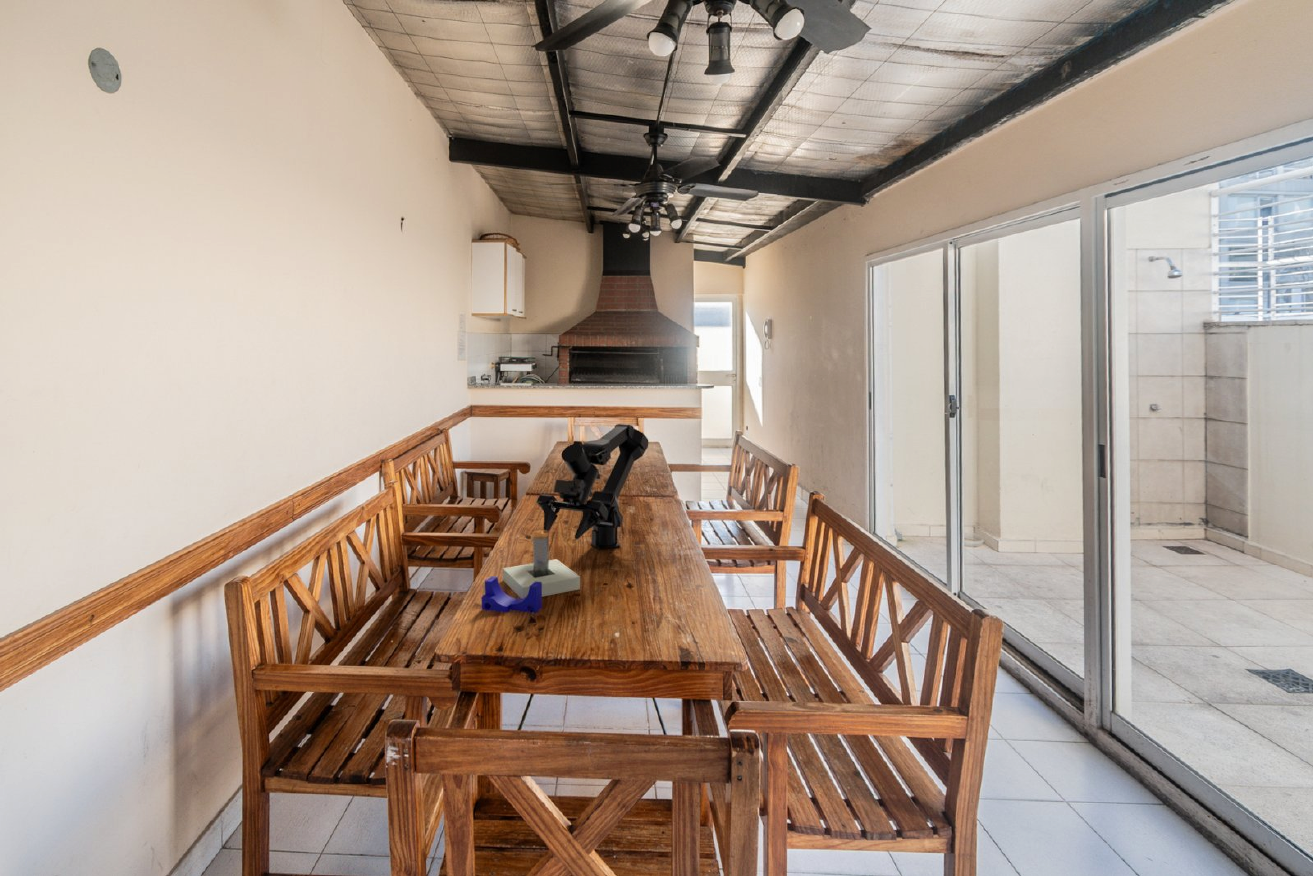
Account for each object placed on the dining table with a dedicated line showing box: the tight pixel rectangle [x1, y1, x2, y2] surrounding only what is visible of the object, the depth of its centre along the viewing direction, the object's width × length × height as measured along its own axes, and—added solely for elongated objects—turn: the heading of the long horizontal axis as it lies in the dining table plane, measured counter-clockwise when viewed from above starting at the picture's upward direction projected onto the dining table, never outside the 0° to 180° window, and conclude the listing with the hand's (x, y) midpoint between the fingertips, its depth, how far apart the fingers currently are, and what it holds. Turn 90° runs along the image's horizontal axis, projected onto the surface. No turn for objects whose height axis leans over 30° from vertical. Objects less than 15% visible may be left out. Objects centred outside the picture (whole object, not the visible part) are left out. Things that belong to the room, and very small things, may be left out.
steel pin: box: [532, 529, 550, 578], centre depth 151 cm, size 4×4×13 cm
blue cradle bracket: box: [481, 576, 543, 614], centre depth 138 cm, size 12×4×6 cm, turn 77°
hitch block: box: [502, 558, 581, 599], centre depth 152 cm, size 14×14×3 cm
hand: (560, 536), depth 159 cm, fingers open, 9 cm apart
